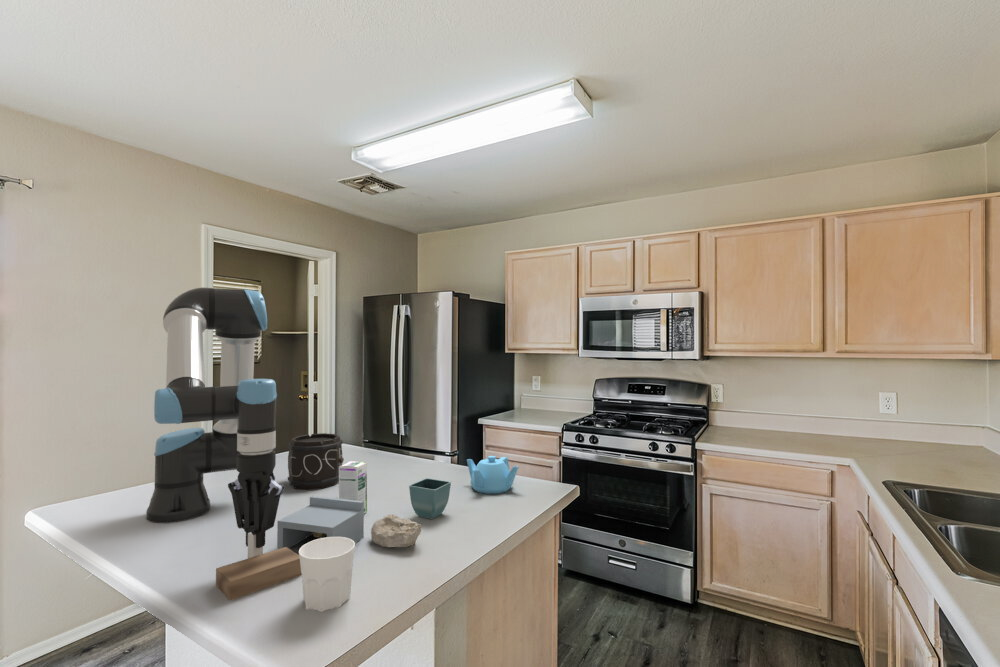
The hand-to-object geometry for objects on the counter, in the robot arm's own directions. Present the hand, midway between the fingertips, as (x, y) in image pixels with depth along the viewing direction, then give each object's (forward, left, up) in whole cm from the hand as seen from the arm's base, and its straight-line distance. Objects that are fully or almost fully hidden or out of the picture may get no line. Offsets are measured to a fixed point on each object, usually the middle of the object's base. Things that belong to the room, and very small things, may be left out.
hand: (255, 561), depth 104 cm
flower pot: (+22, +41, -2) cm, 47 cm away
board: (+4, -3, -2) cm, 6 cm away
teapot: (+31, +70, -2) cm, 77 cm away
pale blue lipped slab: (+5, +15, -2) cm, 16 cm away
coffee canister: (-29, +59, -2) cm, 66 cm away
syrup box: (+1, +35, -2) cm, 35 cm away
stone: (+22, +20, -2) cm, 30 cm away
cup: (+22, -6, -2) cm, 23 cm away
